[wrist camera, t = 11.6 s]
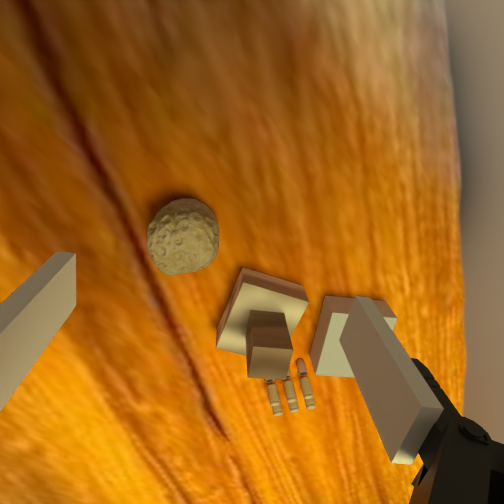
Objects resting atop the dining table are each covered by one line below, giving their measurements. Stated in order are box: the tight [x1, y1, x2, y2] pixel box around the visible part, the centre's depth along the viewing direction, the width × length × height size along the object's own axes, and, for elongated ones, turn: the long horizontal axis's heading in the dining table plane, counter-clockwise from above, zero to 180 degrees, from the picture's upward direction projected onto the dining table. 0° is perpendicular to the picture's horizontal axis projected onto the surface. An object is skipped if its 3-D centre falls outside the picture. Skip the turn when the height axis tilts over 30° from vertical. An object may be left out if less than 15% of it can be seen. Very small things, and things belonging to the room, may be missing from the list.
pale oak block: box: [216, 267, 309, 355], centre depth 54 cm, size 12×10×5 cm
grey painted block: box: [310, 296, 397, 377], centre depth 57 cm, size 12×10×5 cm
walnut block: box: [245, 310, 293, 380], centre depth 48 cm, size 5×5×8 cm
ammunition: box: [265, 359, 316, 416], centre depth 61 cm, size 5×7×8 cm
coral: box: [147, 198, 220, 275], centre depth 46 cm, size 9×9×8 cm
